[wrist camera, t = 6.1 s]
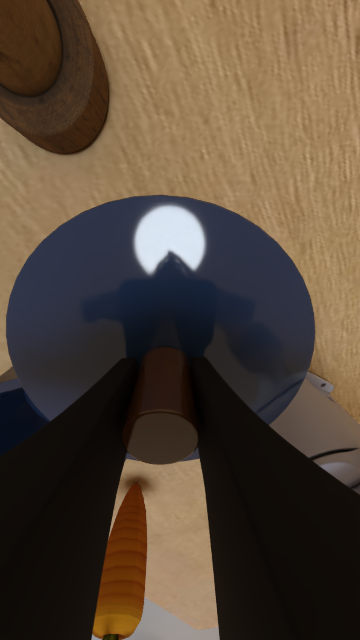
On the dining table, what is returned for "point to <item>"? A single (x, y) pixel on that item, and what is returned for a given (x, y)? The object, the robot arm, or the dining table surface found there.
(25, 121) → the mortar and pestle
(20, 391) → the pot
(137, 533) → the carrot
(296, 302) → the lid
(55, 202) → the dining table surface
